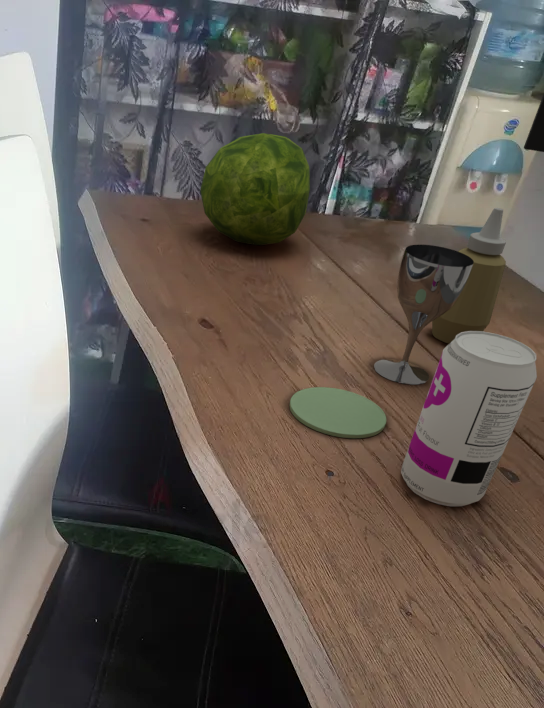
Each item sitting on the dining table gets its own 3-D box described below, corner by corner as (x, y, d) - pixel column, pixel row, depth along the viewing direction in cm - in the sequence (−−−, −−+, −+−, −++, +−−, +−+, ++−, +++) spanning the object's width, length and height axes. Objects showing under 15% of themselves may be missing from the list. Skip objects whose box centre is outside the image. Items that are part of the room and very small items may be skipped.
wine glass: (392, 353, 100) (427, 241, 91) (443, 376, 95) (486, 260, 87) (358, 366, 95) (392, 249, 86) (411, 391, 91) (452, 271, 82)
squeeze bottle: (473, 355, 102) (524, 222, 91) (416, 338, 105) (460, 207, 94) (486, 338, 108) (536, 211, 97) (432, 322, 111) (475, 197, 100)
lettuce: (309, 237, 143) (317, 132, 135) (301, 254, 123) (310, 132, 115) (211, 235, 147) (213, 133, 139) (188, 251, 127) (190, 133, 119)
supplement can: (394, 495, 72) (445, 352, 63) (403, 455, 78) (451, 321, 69) (480, 520, 70) (545, 376, 61) (482, 477, 76) (542, 341, 67)
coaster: (389, 405, 87) (390, 401, 87) (379, 448, 79) (381, 444, 78) (299, 382, 90) (300, 378, 89) (280, 422, 81) (281, 418, 81)
